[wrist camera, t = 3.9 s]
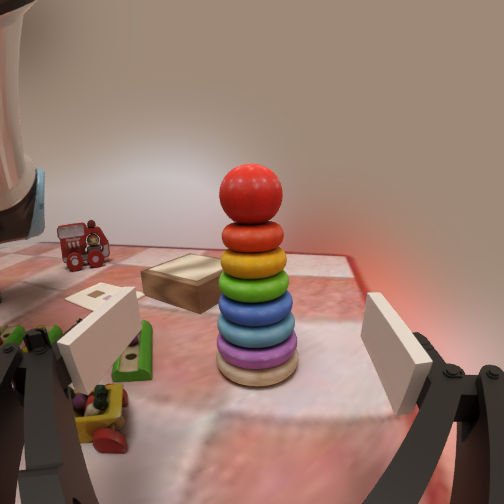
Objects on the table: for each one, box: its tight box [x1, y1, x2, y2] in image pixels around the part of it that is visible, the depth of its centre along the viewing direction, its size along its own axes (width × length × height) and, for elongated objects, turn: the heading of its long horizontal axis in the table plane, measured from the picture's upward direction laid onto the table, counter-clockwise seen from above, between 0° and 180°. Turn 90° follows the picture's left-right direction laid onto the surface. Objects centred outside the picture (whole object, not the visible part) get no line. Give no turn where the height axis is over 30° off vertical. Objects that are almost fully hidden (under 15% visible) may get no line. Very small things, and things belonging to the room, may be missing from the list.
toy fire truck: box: [57, 220, 110, 271], centre depth 57 cm, size 7×12×10 cm, turn 124°
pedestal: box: [141, 254, 224, 314], centre depth 45 cm, size 12×12×4 cm
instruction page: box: [65, 282, 145, 311], centre depth 42 cm, size 12×9×1 cm
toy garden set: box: [0, 318, 152, 454], centre depth 21 cm, size 23×19×5 cm
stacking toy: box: [217, 164, 298, 386], centre depth 24 cm, size 8×8×19 cm
